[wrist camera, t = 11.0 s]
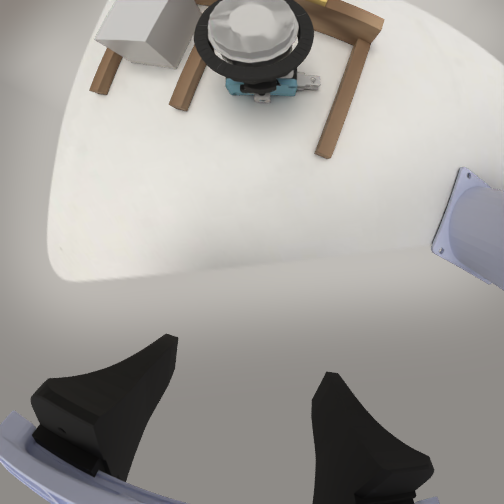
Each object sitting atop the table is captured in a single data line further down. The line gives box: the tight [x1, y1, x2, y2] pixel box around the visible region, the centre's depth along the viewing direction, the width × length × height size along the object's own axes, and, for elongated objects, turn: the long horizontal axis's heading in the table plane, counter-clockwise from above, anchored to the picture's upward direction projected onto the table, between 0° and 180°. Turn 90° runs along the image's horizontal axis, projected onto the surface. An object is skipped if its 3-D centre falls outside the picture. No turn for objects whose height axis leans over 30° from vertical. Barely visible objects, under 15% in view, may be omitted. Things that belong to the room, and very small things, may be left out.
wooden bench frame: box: [89, 0, 384, 159], centre depth 15 cm, size 20×11×5 cm, turn 70°
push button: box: [194, 0, 320, 103], centre depth 13 cm, size 7×5×10 cm
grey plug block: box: [94, 0, 202, 69], centre depth 14 cm, size 4×6×6 cm
